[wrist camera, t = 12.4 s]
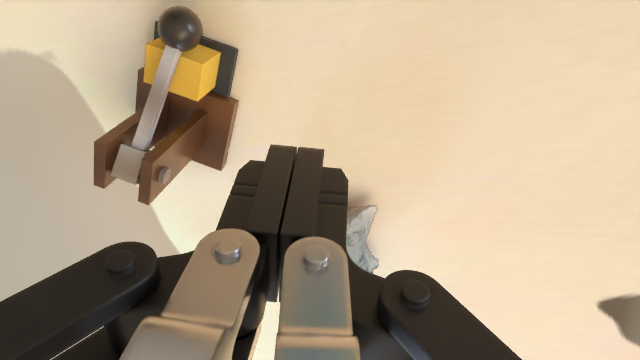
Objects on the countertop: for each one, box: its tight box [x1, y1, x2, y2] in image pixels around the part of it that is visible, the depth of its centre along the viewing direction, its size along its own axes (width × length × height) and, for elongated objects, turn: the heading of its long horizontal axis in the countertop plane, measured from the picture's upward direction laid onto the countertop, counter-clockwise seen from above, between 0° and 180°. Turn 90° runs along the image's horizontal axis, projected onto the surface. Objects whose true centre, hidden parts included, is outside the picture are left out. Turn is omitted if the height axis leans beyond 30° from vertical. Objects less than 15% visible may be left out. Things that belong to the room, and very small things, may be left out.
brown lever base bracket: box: [94, 67, 239, 205], centre depth 41 cm, size 8×10×12 cm
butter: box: [144, 21, 238, 101], centre depth 40 cm, size 5×8×5 cm, turn 73°
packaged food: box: [346, 205, 379, 273], centre depth 47 cm, size 9×12×5 cm
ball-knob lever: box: [111, 6, 203, 184], centre depth 37 cm, size 15×4×4 cm, turn 162°
